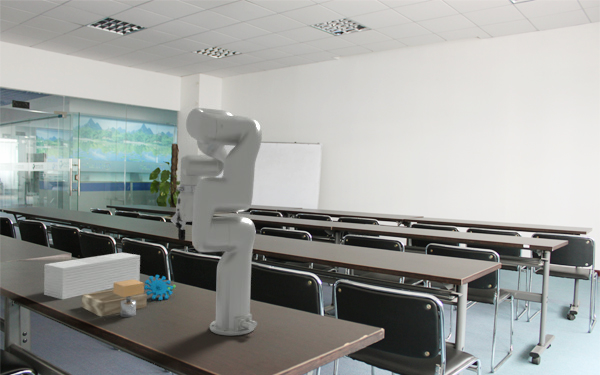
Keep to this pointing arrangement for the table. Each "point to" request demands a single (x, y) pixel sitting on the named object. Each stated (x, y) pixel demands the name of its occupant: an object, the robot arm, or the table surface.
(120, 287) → the block
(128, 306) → the silver metal rounded piece
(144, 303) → the chassis bay
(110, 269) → the stack of papers
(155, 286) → the gear
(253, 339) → the table surface
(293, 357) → the table surface
